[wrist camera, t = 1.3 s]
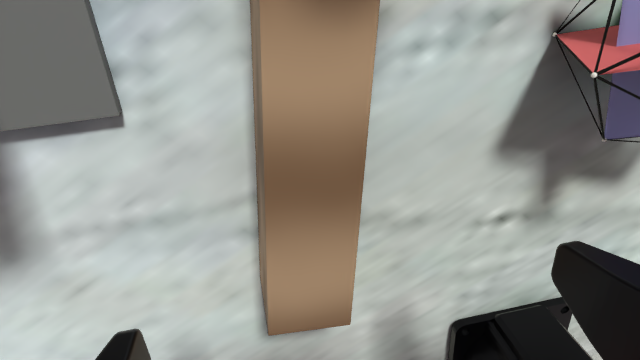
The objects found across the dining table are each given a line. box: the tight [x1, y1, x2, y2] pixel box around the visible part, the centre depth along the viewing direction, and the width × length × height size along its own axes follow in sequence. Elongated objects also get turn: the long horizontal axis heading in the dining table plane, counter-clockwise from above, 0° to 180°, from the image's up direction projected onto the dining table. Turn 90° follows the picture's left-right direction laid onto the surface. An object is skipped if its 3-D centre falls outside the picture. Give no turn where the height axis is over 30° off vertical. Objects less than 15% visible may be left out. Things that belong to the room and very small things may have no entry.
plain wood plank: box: [250, 0, 380, 336], centre depth 15 cm, size 12×3×4 cm, turn 178°
